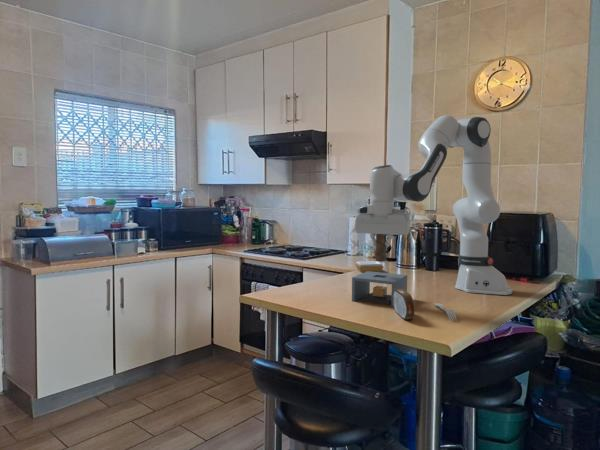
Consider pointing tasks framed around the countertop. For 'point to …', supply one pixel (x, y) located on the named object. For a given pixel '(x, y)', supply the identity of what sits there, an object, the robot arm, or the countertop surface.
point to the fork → (446, 311)
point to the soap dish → (369, 266)
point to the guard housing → (363, 282)
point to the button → (380, 291)
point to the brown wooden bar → (381, 247)
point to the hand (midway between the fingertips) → (381, 246)
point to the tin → (403, 304)
